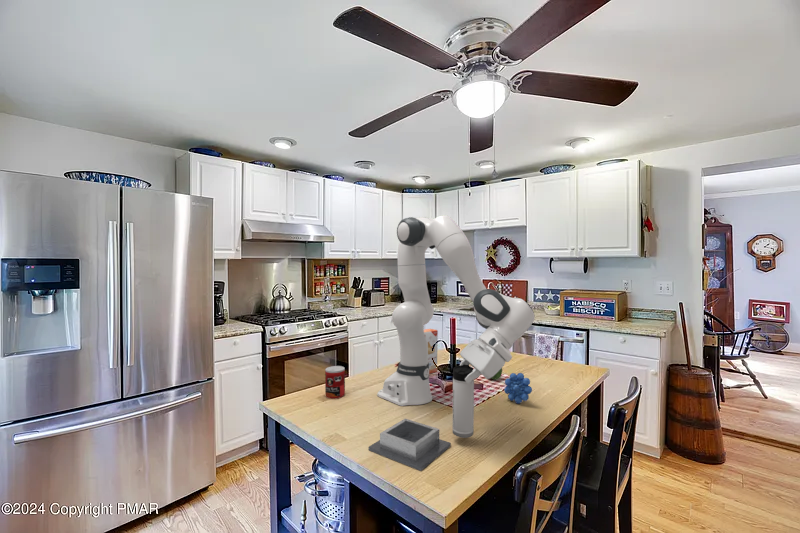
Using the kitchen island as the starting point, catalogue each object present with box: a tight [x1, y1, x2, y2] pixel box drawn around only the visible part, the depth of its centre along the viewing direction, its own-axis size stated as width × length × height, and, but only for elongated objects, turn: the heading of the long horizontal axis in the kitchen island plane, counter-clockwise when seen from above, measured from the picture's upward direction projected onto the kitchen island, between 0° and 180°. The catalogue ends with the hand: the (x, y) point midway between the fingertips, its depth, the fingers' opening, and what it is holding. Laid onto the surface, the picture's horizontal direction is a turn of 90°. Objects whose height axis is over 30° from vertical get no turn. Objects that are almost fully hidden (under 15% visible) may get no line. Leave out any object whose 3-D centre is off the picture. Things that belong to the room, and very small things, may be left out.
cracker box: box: [424, 328, 439, 375], centre depth 179 cm, size 14×6×21 cm, turn 128°
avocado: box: [489, 367, 503, 381], centre depth 170 cm, size 8×8×12 cm
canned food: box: [324, 365, 346, 400], centre depth 150 cm, size 8×8×11 cm
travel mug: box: [452, 364, 475, 439], centre depth 111 cm, size 6×7×20 cm
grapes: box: [503, 372, 533, 405], centre depth 141 cm, size 12×7×12 cm, turn 41°
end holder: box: [368, 418, 452, 472], centre depth 107 cm, size 18×16×5 cm
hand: (461, 377), depth 111 cm, fingers closed on travel mug, 6 cm apart
